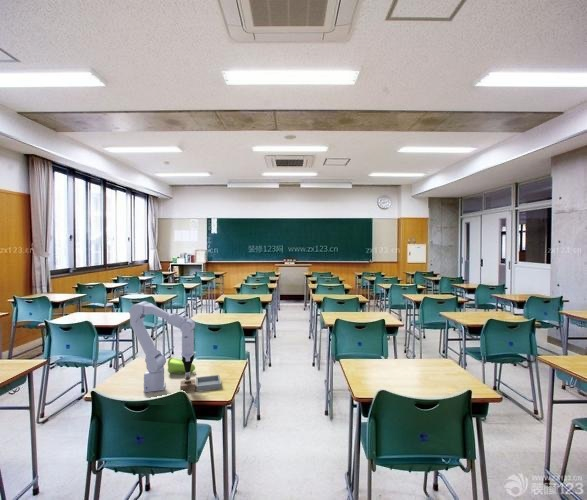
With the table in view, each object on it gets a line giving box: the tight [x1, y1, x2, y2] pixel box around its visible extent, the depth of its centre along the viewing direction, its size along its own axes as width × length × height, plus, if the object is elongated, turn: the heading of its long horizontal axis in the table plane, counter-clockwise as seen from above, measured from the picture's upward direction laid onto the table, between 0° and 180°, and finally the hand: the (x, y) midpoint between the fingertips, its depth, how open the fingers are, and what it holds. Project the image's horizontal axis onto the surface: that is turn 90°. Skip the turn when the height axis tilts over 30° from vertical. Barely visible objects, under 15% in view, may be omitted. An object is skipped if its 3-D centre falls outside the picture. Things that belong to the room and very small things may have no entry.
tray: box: [195, 374, 222, 392], centre depth 172 cm, size 12×12×2 cm
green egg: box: [167, 357, 196, 374], centre depth 190 cm, size 8×12×20 cm
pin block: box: [179, 378, 196, 392], centre depth 168 cm, size 7×7×3 cm
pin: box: [184, 372, 191, 380], centre depth 168 cm, size 2×2×7 cm
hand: (187, 371), depth 168 cm, fingers closed on pin, 2 cm apart
